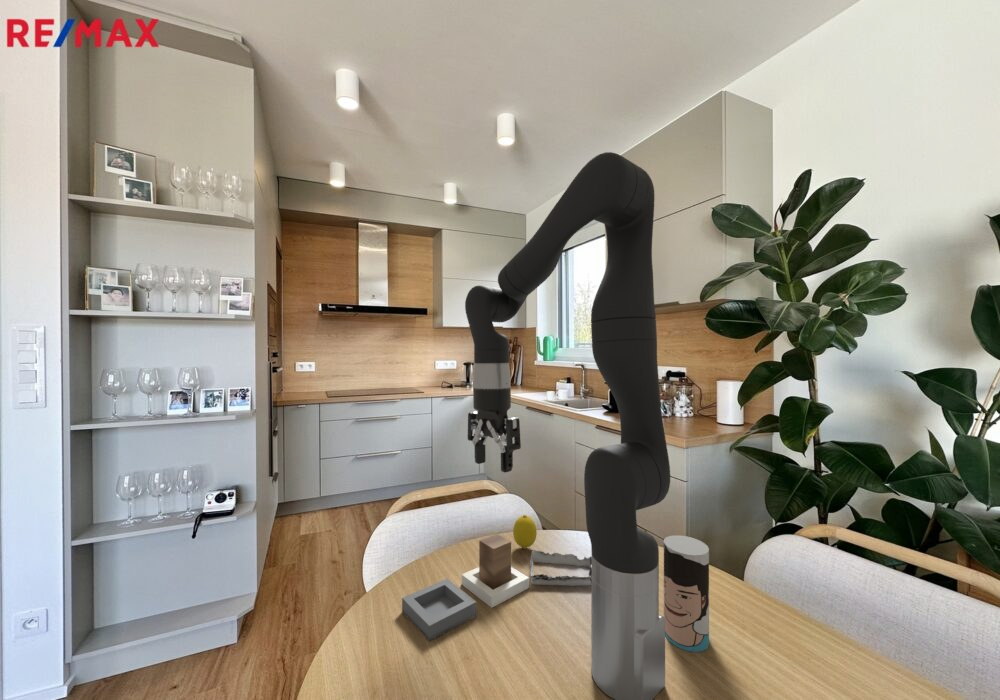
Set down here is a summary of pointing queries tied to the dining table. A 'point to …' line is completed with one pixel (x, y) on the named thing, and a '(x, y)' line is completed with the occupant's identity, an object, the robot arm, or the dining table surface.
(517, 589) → the white pocket frame
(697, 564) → the cup
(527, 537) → the lemon
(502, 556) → the walnut block
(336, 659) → the dining table surface
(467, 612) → the gray pocket tray
